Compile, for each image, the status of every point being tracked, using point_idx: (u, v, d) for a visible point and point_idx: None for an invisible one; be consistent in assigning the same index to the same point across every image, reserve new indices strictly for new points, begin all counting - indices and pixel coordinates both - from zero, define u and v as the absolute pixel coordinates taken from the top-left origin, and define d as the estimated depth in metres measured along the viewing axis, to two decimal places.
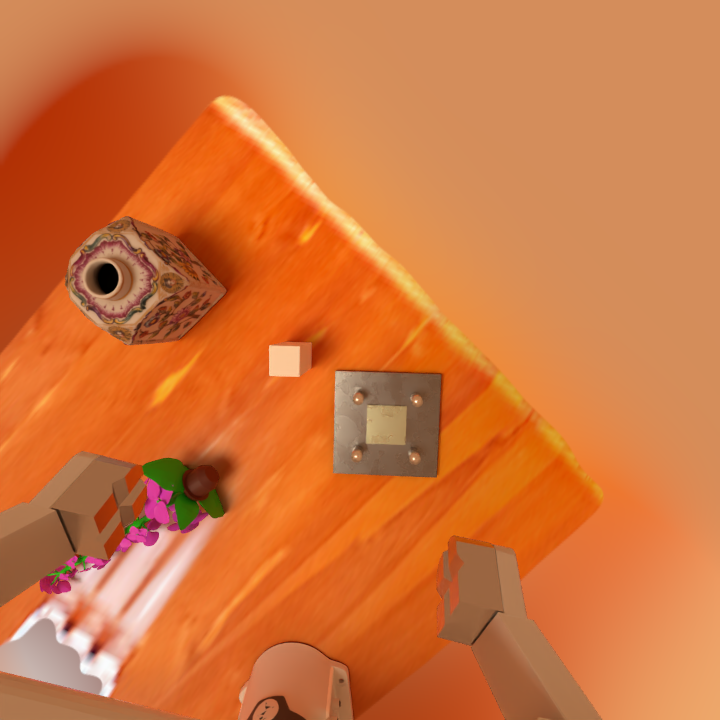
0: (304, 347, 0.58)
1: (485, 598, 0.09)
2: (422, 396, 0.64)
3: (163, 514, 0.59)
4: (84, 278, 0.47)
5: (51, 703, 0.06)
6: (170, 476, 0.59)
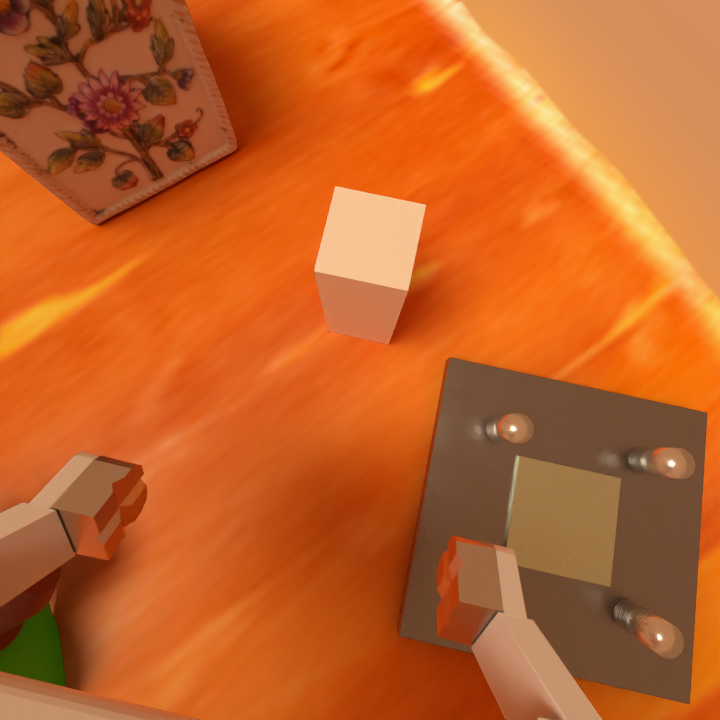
0: None
1: (485, 598, 0.09)
2: None
3: None
4: None
5: (51, 704, 0.06)
6: None
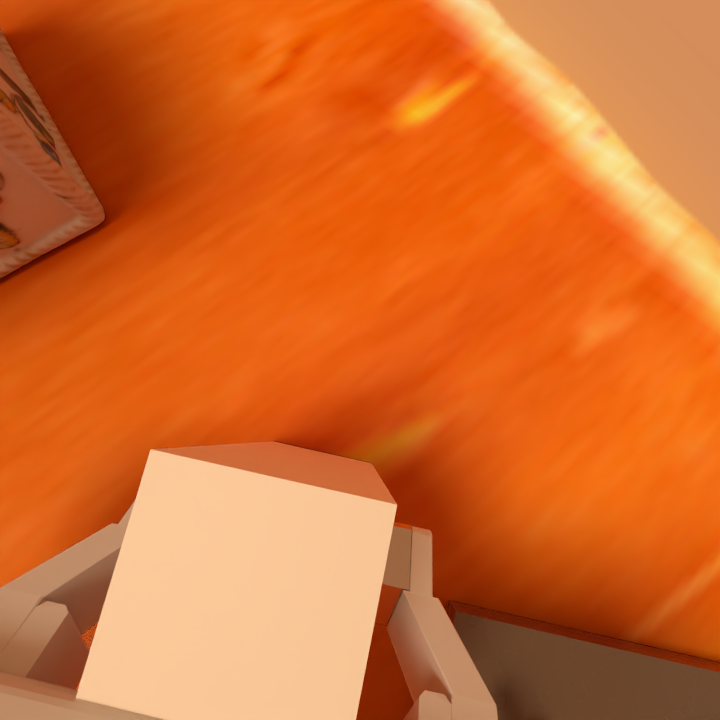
0: None
1: (393, 577, 0.09)
2: None
3: None
4: None
5: (51, 704, 0.06)
6: None
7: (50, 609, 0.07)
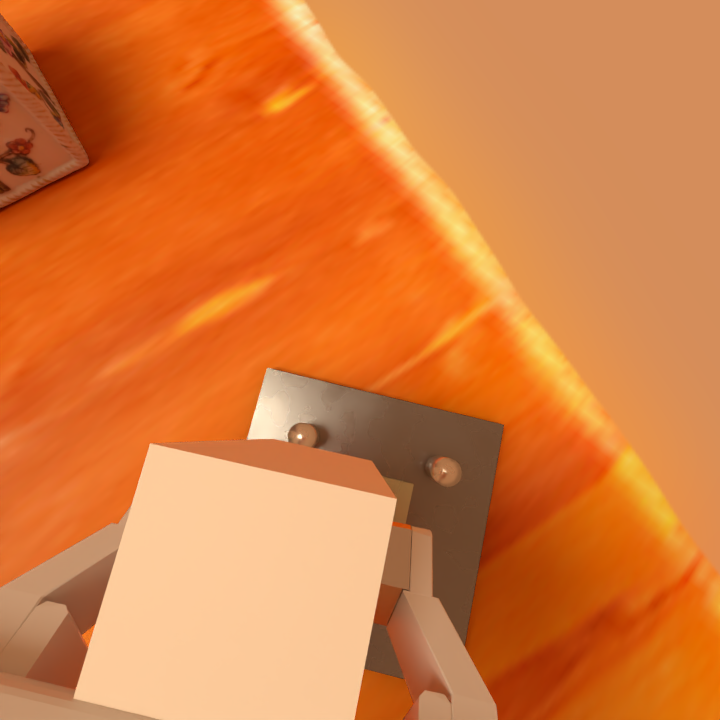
0: None
1: (392, 577, 0.09)
2: None
3: None
4: None
5: (51, 705, 0.06)
6: None
7: (50, 609, 0.07)
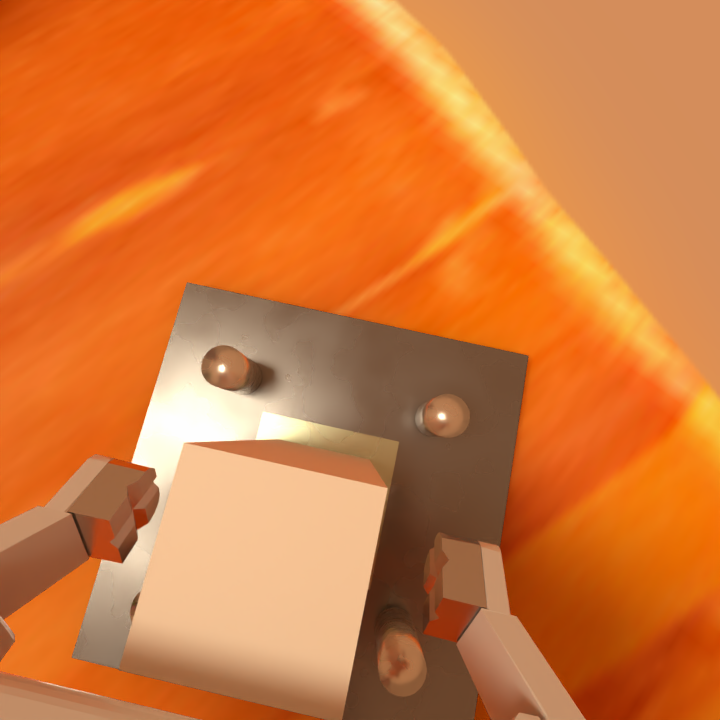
0: None
1: (469, 594, 0.09)
2: None
3: None
4: None
5: (51, 704, 0.06)
6: None
7: None
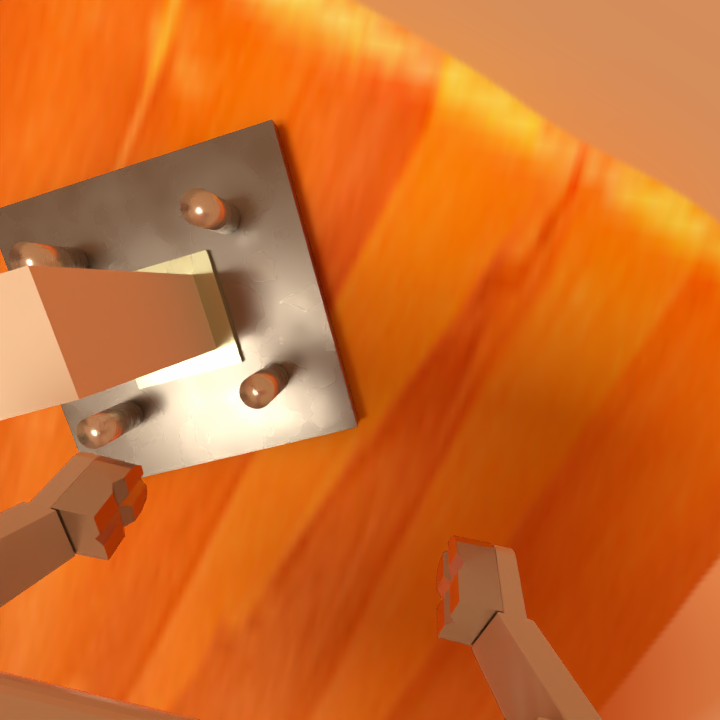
0: (114, 280, 0.15)
1: (485, 598, 0.09)
2: (241, 206, 0.21)
3: None
4: None
5: (51, 704, 0.06)
6: None
7: None
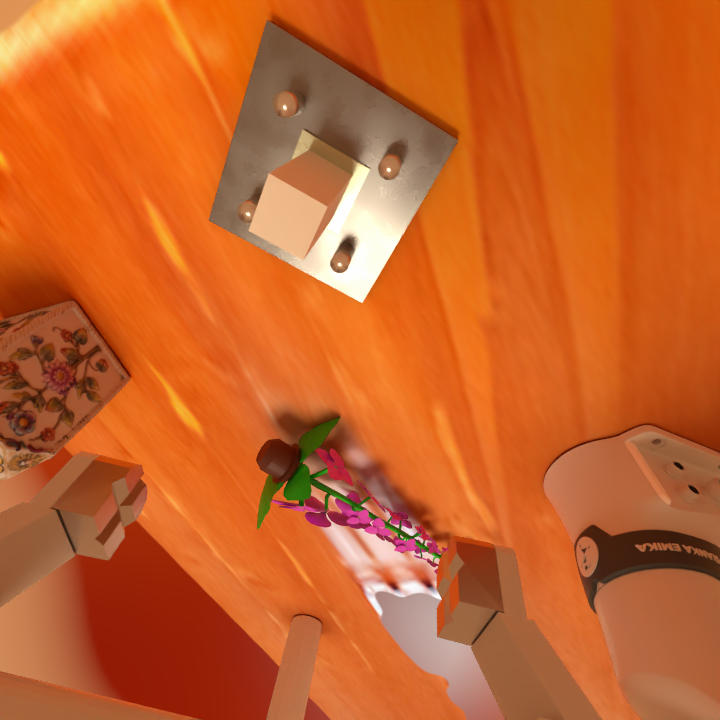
0: (290, 166, 0.28)
1: (485, 598, 0.09)
2: (296, 87, 0.32)
3: (305, 507, 0.47)
4: None
5: (51, 704, 0.06)
6: (266, 497, 0.49)
7: None
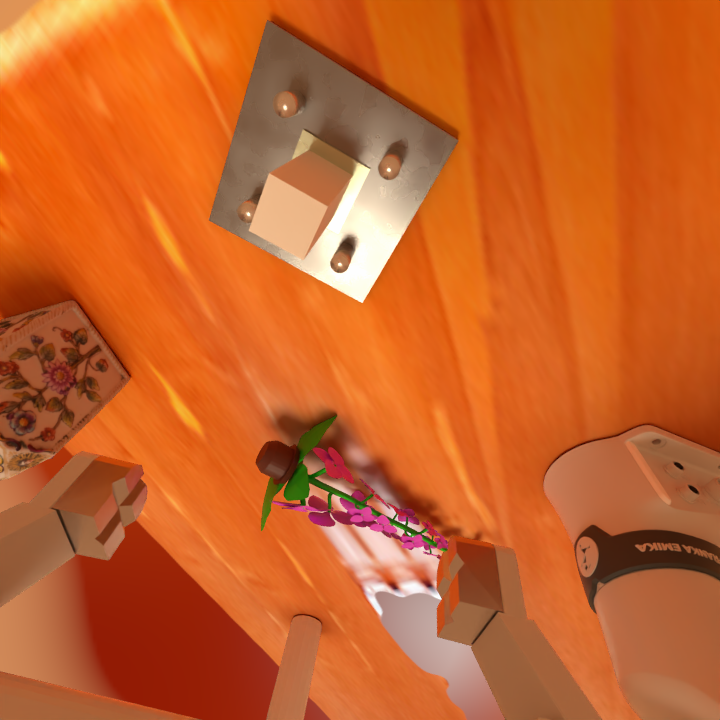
0: (290, 166, 0.28)
1: (485, 598, 0.09)
2: (297, 86, 0.32)
3: (306, 506, 0.47)
4: None
5: (51, 704, 0.06)
6: (267, 499, 0.49)
7: None
